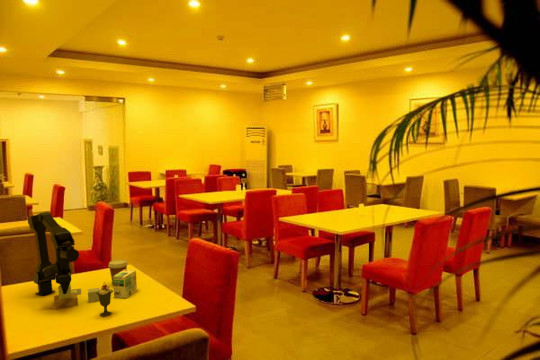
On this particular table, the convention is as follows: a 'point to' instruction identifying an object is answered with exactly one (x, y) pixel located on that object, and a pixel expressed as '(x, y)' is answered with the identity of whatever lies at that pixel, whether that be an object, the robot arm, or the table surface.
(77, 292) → the swatch card
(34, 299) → the table surface
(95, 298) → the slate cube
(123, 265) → the disposable coffee cup
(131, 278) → the light bulb box
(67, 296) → the sage cube
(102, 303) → the sundae
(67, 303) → the walnut block
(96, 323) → the table surface
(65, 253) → the robot arm
